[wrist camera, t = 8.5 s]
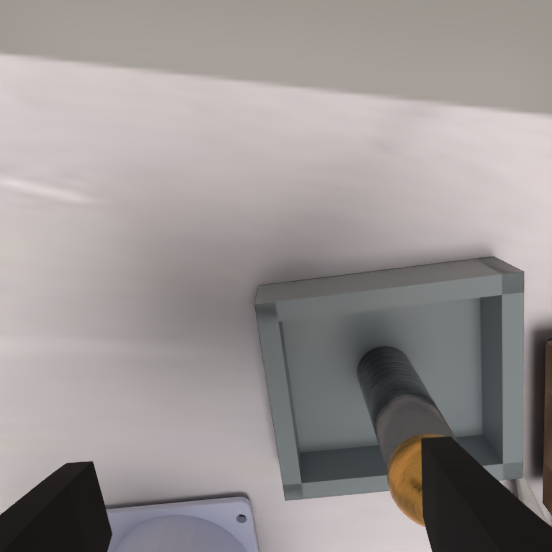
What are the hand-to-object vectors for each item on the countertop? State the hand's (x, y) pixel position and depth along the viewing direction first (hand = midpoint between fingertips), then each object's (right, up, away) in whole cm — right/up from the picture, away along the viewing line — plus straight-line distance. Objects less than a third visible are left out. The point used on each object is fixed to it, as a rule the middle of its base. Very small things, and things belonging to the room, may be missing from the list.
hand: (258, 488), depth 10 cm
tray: (+5, +1, +10) cm, 12 cm away
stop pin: (+5, 0, +10) cm, 11 cm away
